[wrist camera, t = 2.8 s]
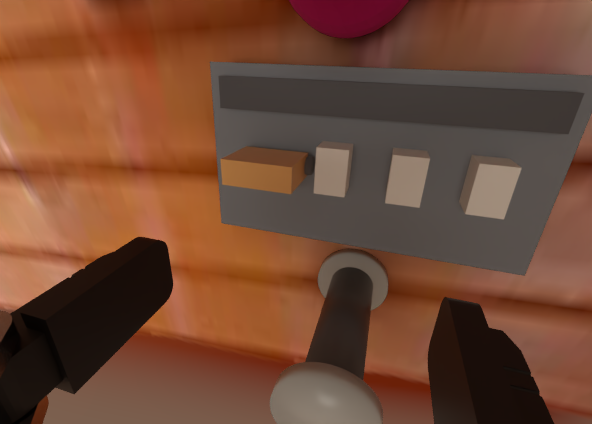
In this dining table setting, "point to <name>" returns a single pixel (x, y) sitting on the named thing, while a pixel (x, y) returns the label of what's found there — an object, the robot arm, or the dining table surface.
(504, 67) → the dining table surface
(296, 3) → the pepper mill
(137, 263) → the robot arm
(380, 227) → the breaker panel
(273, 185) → the main breaker lever
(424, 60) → the dining table surface
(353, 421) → the grey-capped dumbbell
